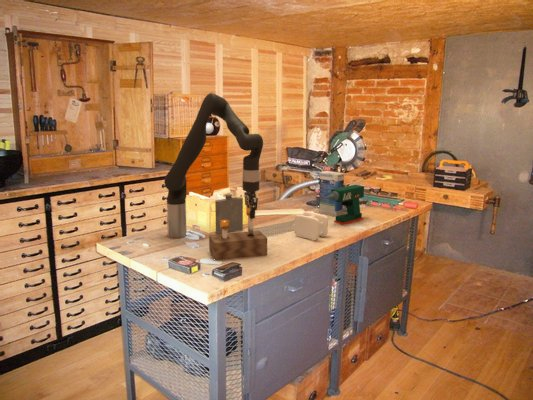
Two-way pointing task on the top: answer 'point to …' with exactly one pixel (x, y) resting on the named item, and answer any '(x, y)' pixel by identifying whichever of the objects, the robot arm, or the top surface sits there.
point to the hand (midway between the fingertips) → (250, 216)
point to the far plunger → (249, 223)
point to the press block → (237, 245)
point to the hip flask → (229, 213)
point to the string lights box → (326, 184)
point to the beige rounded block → (311, 225)
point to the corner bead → (276, 228)
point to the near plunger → (224, 228)
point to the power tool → (348, 202)
